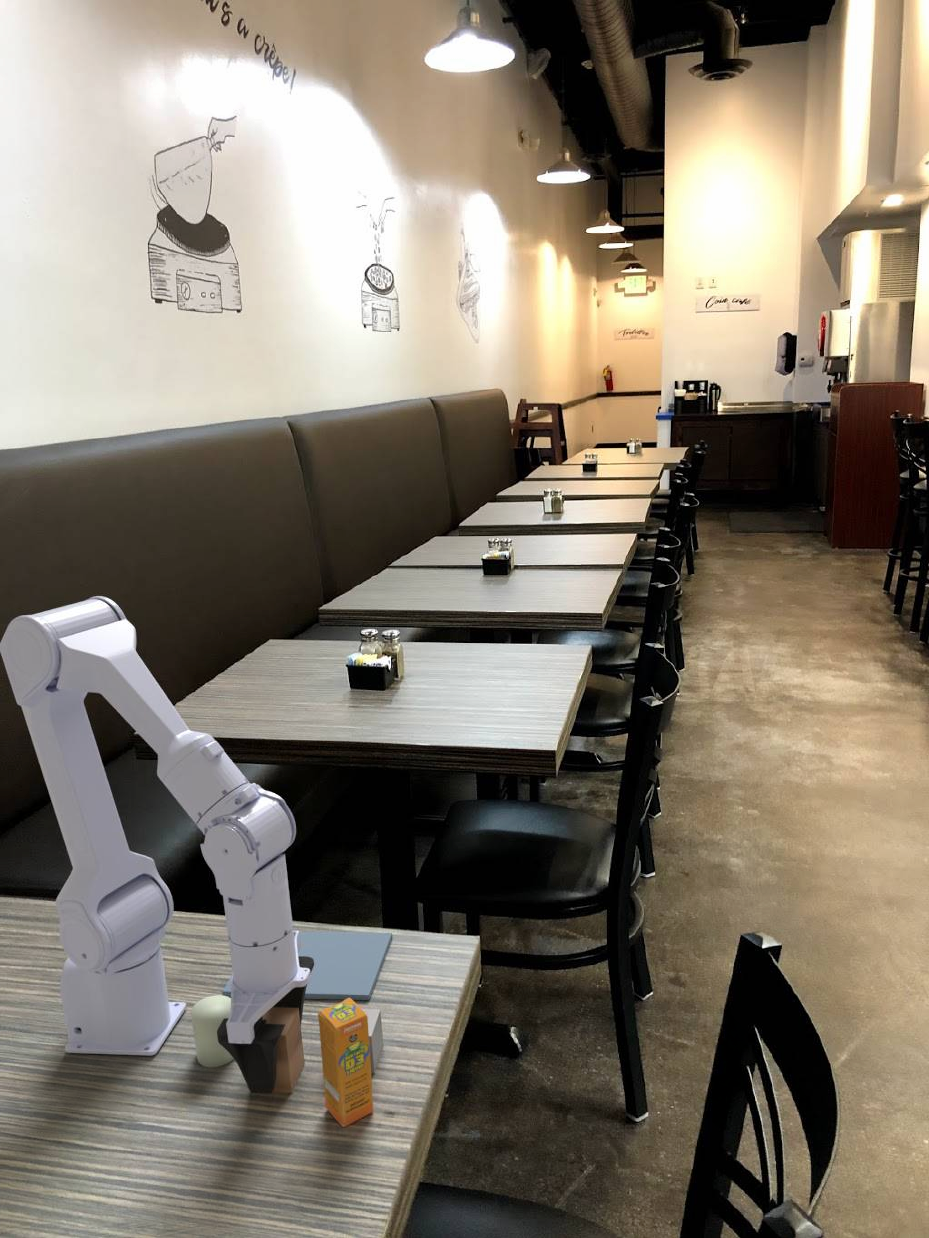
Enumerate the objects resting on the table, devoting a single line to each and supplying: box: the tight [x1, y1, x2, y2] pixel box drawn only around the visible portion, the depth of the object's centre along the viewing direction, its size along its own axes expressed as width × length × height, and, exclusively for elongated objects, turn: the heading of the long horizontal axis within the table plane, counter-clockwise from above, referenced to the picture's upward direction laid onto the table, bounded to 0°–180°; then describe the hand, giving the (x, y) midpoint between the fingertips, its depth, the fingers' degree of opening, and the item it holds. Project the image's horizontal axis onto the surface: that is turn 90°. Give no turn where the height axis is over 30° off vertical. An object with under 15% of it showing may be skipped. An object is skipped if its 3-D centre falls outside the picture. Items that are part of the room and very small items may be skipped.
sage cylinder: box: [190, 994, 234, 1068], centre depth 94 cm, size 4×4×5 cm
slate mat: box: [221, 930, 393, 1001], centre depth 108 cm, size 16×12×1 cm
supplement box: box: [317, 998, 374, 1128], centre depth 84 cm, size 3×3×10 cm
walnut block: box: [262, 1007, 306, 1094], centre depth 90 cm, size 4×4×6 cm
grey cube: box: [361, 1008, 384, 1074], centre depth 92 cm, size 4×4×4 cm
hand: (276, 1061), depth 90 cm, fingers open, 7 cm apart
